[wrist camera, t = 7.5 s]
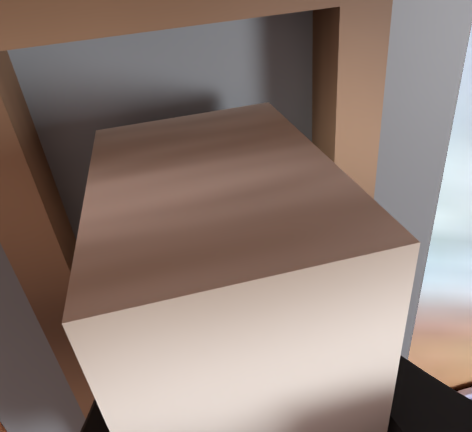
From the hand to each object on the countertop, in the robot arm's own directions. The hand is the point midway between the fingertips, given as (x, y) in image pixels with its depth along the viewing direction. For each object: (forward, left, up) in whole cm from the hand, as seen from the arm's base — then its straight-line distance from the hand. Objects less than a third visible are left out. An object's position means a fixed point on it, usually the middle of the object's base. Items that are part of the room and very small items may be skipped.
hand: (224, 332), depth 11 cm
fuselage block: (0, 0, -1) cm, 1 cm away
